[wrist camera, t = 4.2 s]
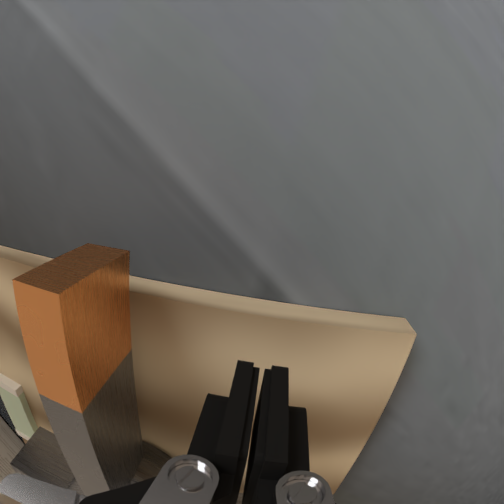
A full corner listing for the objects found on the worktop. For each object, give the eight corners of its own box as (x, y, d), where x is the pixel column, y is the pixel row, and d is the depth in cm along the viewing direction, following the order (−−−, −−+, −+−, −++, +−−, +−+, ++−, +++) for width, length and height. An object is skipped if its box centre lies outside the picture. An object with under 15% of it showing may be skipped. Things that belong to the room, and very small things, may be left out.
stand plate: (-20, 239, 14) (-38, 246, 12) (405, 318, 12) (418, 336, 11) (53, 471, 20) (46, 481, 19) (291, 536, 19) (290, 550, 17)
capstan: (4, 221, 11) (-71, 246, 7) (308, 272, 11) (326, 348, 6) (73, 478, 17) (50, 516, 12) (240, 528, 16) (232, 577, 12)
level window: (-3, 371, 15) (-9, 376, 14) (21, 384, 15) (15, 390, 14) (21, 429, 16) (17, 434, 16) (44, 442, 16) (40, 448, 16)
